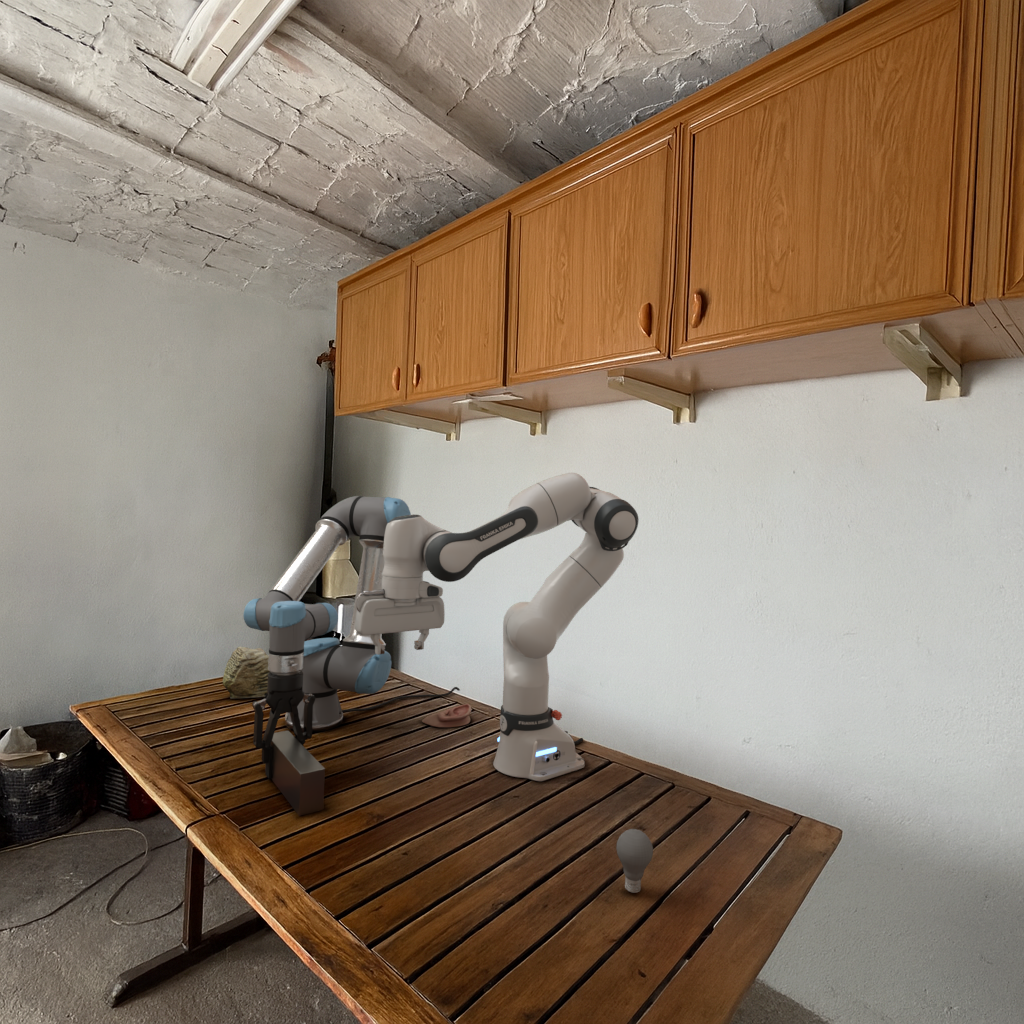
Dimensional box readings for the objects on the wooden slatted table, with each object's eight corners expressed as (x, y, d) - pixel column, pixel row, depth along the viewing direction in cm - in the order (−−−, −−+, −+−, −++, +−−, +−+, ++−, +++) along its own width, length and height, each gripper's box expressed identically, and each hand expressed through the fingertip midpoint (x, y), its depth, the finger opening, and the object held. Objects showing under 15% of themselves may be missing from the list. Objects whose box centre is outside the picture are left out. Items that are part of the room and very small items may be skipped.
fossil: (218, 695, 195) (220, 647, 195) (278, 685, 208) (279, 640, 207) (228, 703, 189) (230, 653, 188) (289, 692, 201) (290, 645, 201)
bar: (264, 770, 145) (266, 734, 145) (286, 766, 148) (288, 730, 148) (298, 816, 125) (300, 773, 125) (323, 809, 128) (325, 768, 128)
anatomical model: (418, 710, 178) (431, 698, 189) (418, 724, 178) (431, 711, 189) (464, 716, 175) (474, 703, 186) (463, 730, 175) (474, 716, 186)
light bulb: (610, 879, 108) (613, 822, 108) (644, 879, 109) (647, 822, 109) (619, 902, 102) (622, 840, 102) (655, 901, 103) (658, 840, 103)
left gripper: (247, 680, 134) (243, 789, 134) (330, 670, 145) (326, 770, 145) (239, 671, 140) (235, 776, 141) (319, 662, 151) (315, 759, 151)
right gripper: (363, 593, 130) (360, 660, 130) (449, 588, 142) (446, 649, 142) (351, 588, 135) (348, 653, 135) (435, 584, 147) (432, 643, 147)
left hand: (281, 773), depth 143 cm, fingers closed on bar, 5 cm apart
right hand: (399, 651), depth 139 cm, fingers open, 8 cm apart
